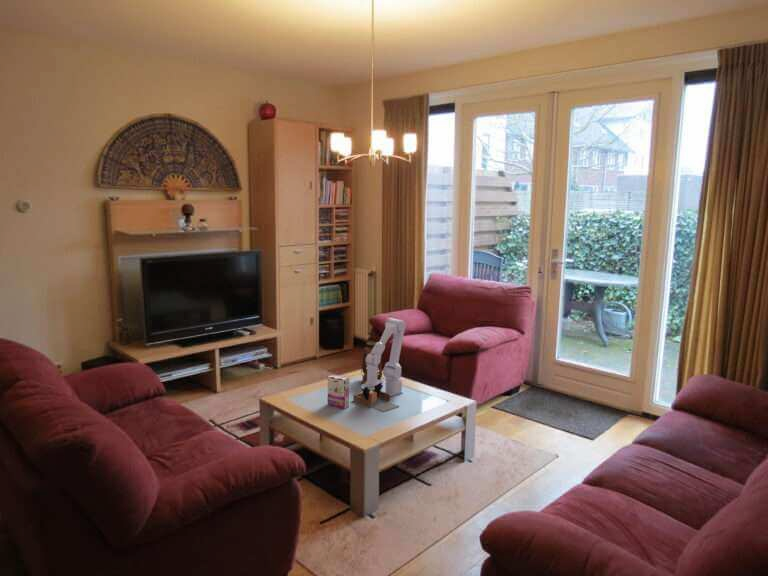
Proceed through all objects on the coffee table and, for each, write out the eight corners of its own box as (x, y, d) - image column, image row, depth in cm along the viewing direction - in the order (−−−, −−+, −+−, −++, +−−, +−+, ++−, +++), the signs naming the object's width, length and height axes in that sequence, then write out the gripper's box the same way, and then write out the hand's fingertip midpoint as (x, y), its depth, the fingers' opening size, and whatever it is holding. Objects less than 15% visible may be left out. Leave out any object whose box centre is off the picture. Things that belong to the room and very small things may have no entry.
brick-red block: (372, 399, 307) (372, 390, 306) (376, 401, 304) (377, 392, 303) (366, 400, 304) (366, 392, 303) (371, 402, 301) (371, 394, 301)
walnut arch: (374, 394, 314) (374, 388, 314) (390, 400, 305) (390, 395, 304) (353, 400, 304) (353, 394, 303) (368, 407, 294) (368, 401, 294)
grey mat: (389, 402, 302) (389, 401, 302) (399, 406, 297) (399, 406, 296) (373, 407, 294) (373, 406, 294) (382, 412, 289) (383, 411, 288)
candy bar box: (349, 406, 296) (349, 377, 293) (344, 409, 291) (345, 380, 288) (332, 402, 301) (332, 373, 298) (327, 405, 296) (327, 376, 293)
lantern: (388, 383, 333) (390, 335, 328) (374, 388, 324) (375, 339, 319) (368, 376, 345) (370, 330, 339) (354, 381, 335) (355, 334, 330)
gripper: (377, 370, 309) (376, 393, 312) (357, 375, 300) (357, 399, 302) (385, 374, 304) (385, 397, 307) (366, 379, 295) (365, 403, 297)
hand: (371, 398), depth 304 cm, fingers open, 7 cm apart
